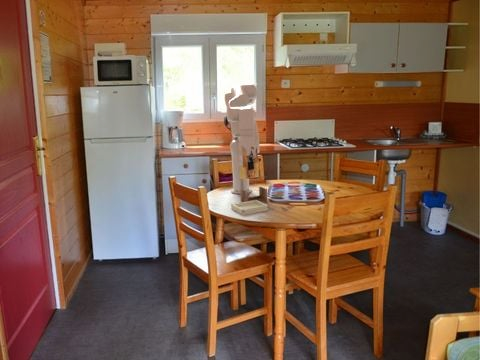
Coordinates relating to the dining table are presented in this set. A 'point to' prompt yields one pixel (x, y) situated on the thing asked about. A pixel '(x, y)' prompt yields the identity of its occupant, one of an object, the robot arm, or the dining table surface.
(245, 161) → the candy box
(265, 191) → the holder
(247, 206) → the tray
